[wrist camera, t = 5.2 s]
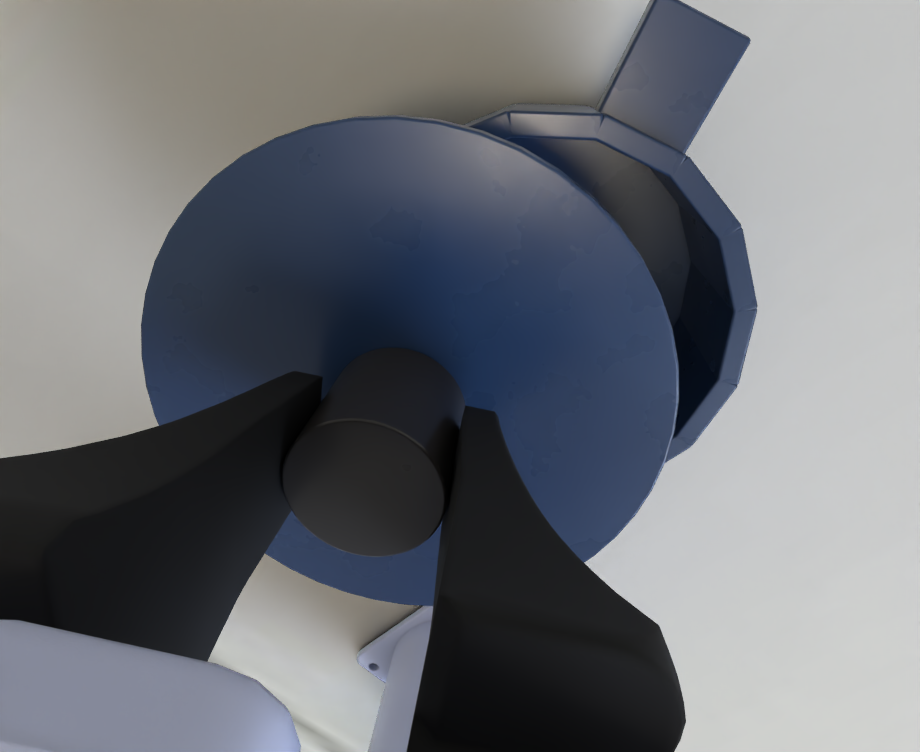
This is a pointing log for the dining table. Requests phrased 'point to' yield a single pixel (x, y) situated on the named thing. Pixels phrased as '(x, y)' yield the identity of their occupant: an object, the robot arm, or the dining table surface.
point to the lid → (417, 336)
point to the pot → (662, 190)
